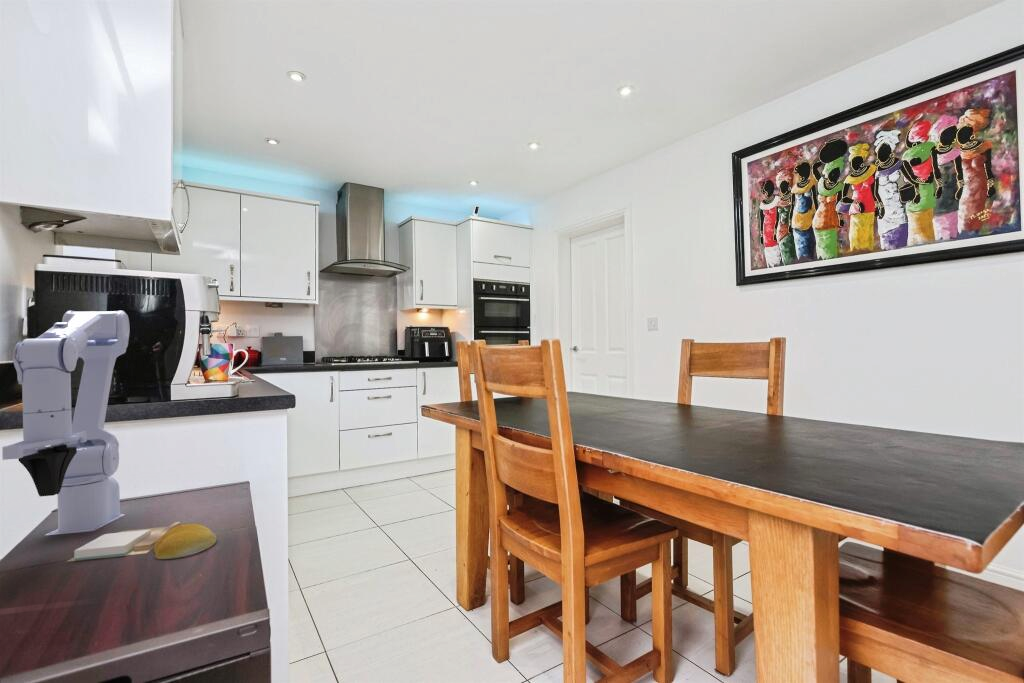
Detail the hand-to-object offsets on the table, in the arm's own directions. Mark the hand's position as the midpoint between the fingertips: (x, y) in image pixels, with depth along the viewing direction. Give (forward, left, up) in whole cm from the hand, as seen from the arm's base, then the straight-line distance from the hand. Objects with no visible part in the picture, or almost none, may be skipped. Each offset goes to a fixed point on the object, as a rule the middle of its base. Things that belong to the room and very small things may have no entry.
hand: (49, 494), depth 78 cm
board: (-2, +11, -10) cm, 15 cm away
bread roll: (+4, +22, -10) cm, 24 cm away
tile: (-2, +10, -9) cm, 13 cm away
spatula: (-2, +15, -9) cm, 18 cm away
